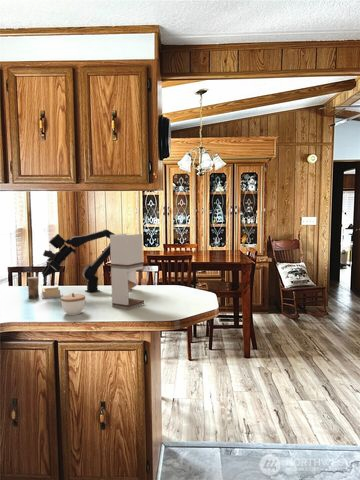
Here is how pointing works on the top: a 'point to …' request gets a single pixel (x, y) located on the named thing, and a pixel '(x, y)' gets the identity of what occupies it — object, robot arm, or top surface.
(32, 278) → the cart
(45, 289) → the dock
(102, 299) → the top surface
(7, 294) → the top surface
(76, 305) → the lidded jar
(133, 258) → the coffee grinder
